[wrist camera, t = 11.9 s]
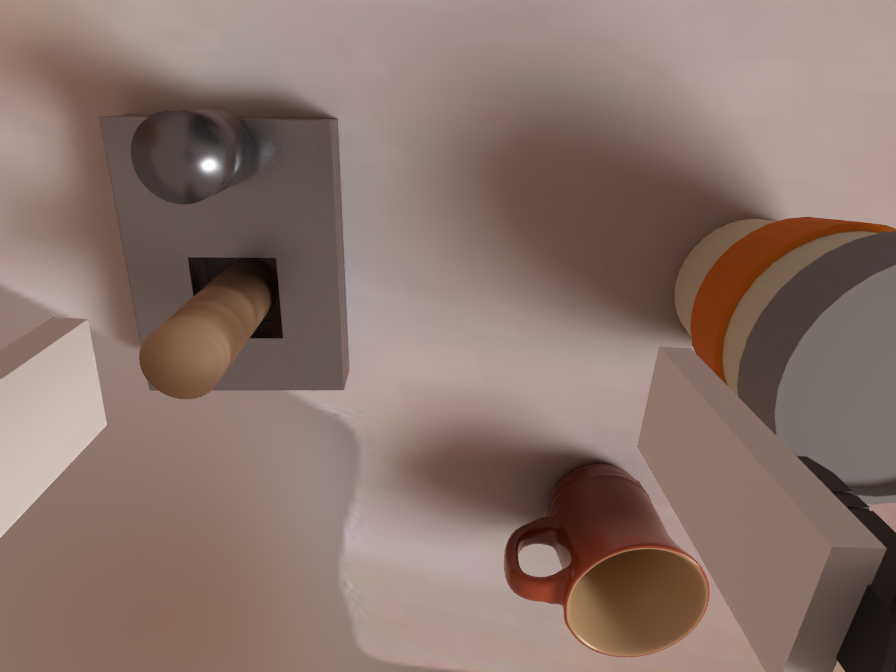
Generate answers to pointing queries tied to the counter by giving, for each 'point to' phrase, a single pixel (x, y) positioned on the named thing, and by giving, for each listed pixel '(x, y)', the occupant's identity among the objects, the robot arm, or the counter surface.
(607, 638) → the mug
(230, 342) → the wooden cylinder
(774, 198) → the counter surface
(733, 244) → the reusable coffee cup
